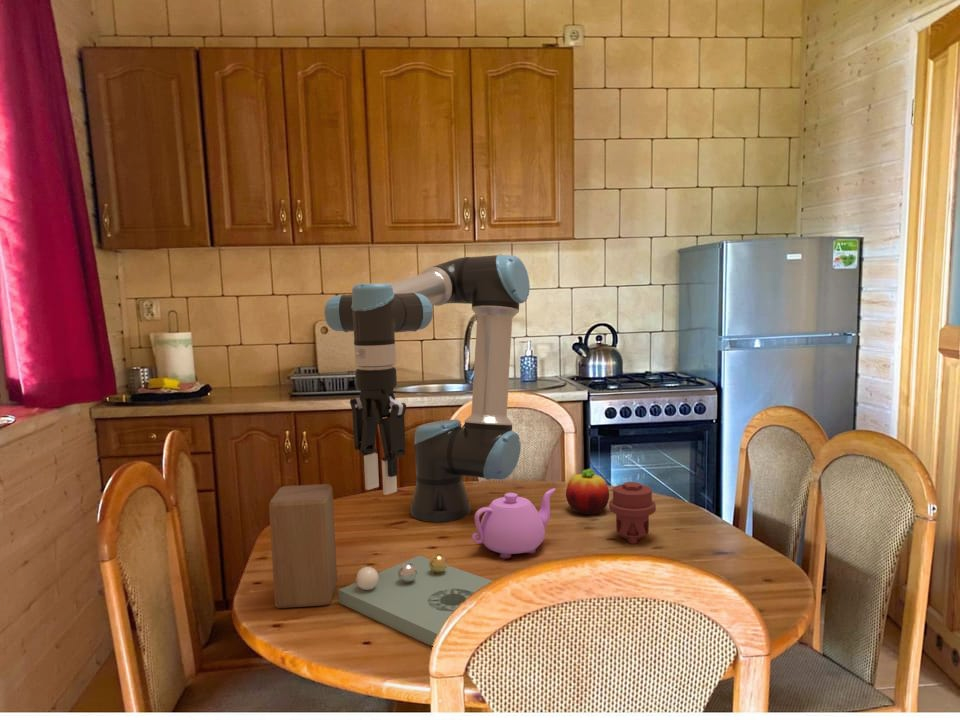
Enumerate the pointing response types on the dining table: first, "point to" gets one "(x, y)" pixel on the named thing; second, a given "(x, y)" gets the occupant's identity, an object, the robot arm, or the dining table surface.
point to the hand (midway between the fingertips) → (381, 490)
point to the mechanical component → (632, 510)
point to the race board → (413, 598)
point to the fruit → (587, 493)
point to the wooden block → (303, 545)
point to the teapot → (512, 524)
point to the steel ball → (407, 572)
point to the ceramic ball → (367, 578)
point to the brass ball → (438, 563)
